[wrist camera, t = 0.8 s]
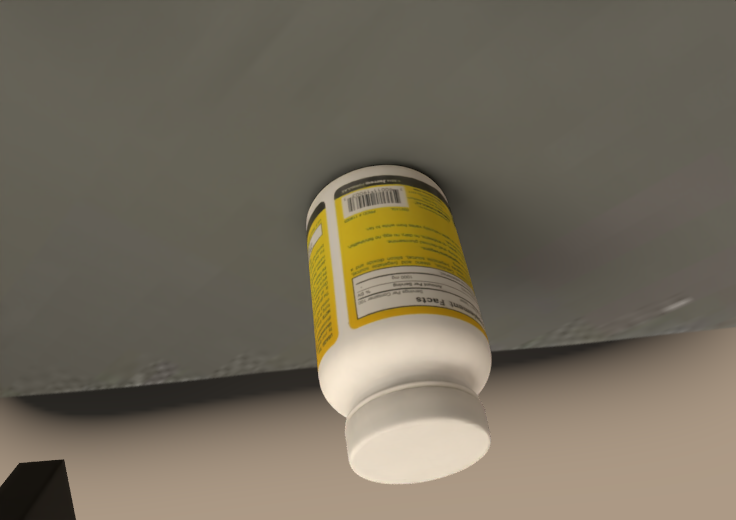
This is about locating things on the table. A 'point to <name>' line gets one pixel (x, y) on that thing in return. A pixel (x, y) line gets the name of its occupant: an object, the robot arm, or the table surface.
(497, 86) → the table surface
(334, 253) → the pill bottle
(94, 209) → the table surface
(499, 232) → the table surface
